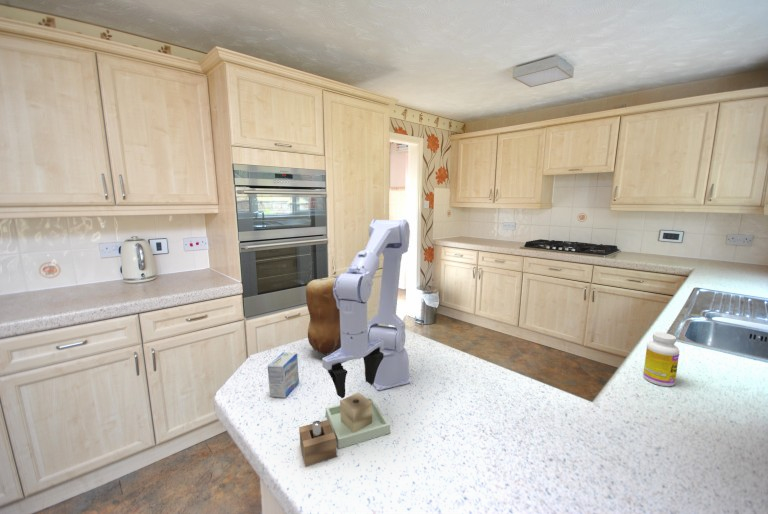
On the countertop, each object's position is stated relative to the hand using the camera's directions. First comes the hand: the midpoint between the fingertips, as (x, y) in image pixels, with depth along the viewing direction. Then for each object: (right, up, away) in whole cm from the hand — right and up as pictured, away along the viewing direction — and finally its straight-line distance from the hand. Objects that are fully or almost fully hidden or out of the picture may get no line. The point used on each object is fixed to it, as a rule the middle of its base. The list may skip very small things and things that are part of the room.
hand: (355, 389), depth 72 cm
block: (0, -8, +1) cm, 8 cm away
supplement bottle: (+80, -5, +17) cm, 82 cm away
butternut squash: (-12, -3, +37) cm, 39 cm away
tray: (0, -8, +1) cm, 8 cm away
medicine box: (-20, -7, +16) cm, 26 cm away
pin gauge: (-7, -10, -6) cm, 14 cm away
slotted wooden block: (-7, -10, -6) cm, 13 cm away
